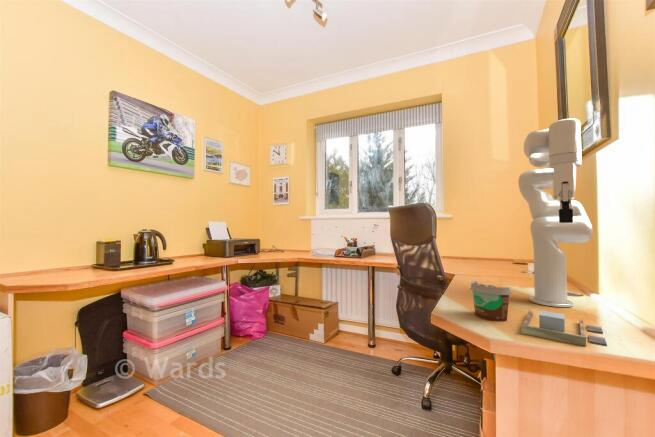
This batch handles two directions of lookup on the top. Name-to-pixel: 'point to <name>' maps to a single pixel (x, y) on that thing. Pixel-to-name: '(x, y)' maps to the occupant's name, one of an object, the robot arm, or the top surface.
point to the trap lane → (561, 335)
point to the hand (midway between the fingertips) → (566, 222)
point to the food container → (490, 301)
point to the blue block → (552, 321)
